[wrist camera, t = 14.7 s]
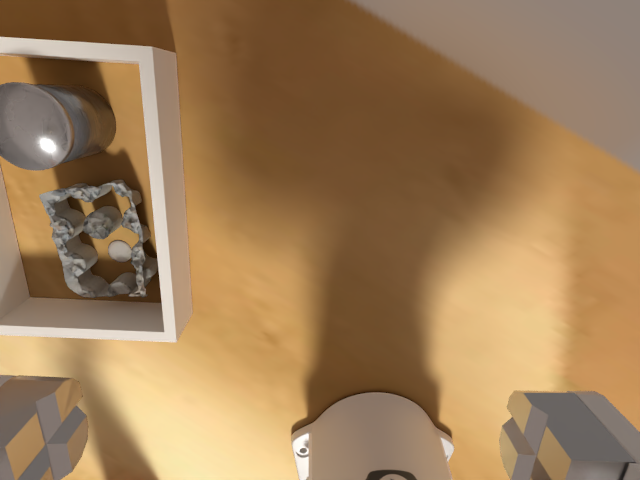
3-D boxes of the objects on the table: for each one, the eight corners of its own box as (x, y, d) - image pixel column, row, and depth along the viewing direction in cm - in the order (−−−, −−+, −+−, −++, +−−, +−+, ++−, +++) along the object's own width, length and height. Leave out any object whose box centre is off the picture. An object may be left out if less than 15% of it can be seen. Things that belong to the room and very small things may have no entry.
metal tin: (120, 158, 35) (74, 174, 28) (52, 152, 34) (-10, 166, 28) (114, 87, 33) (63, 86, 26) (42, 80, 32) (-28, 78, 26)
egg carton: (165, 282, 39) (149, 303, 36) (89, 285, 39) (65, 306, 36) (144, 176, 36) (123, 186, 32) (60, 179, 36) (29, 190, 32)
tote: (192, 313, 40) (176, 342, 36) (21, 305, 40) (-18, 334, 35) (176, 53, 32) (152, 46, 27) (-42, 39, 31) (-104, 30, 27)
